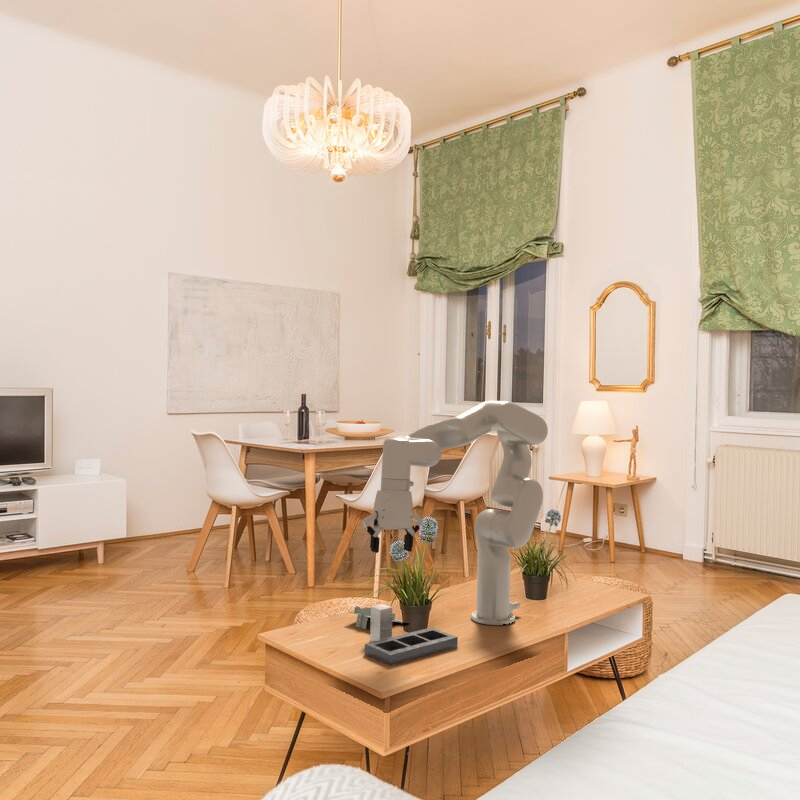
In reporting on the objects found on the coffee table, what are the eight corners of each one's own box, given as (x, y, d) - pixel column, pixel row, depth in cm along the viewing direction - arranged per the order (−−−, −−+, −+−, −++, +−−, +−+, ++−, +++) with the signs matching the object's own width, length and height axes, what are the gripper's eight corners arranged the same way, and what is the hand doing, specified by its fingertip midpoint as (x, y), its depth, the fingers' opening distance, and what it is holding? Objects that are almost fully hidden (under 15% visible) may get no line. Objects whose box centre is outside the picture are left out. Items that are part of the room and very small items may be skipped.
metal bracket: (382, 613, 193) (342, 602, 203) (377, 635, 192) (337, 624, 202) (413, 617, 204) (374, 607, 213) (409, 638, 203) (370, 627, 212)
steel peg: (382, 638, 190) (382, 603, 190) (391, 642, 187) (392, 607, 187) (370, 641, 187) (370, 606, 187) (379, 645, 184) (380, 609, 184)
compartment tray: (431, 636, 192) (431, 627, 192) (457, 647, 184) (457, 637, 184) (364, 653, 178) (365, 643, 178) (390, 665, 170) (390, 655, 170)
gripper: (416, 484, 196) (413, 547, 195) (359, 483, 188) (355, 549, 187) (430, 487, 189) (427, 552, 189) (371, 486, 181) (367, 555, 181)
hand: (391, 551), depth 188 cm, fingers open, 9 cm apart
